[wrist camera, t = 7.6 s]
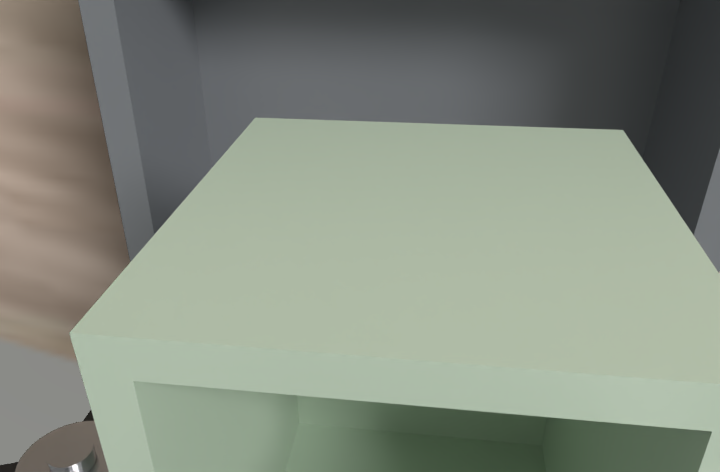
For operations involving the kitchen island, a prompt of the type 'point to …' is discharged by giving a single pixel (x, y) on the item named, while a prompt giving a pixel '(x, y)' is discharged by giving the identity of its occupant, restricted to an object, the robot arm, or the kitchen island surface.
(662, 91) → the charcoal crate
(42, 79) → the kitchen island surface
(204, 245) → the sage crate
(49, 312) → the kitchen island surface
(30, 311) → the kitchen island surface
